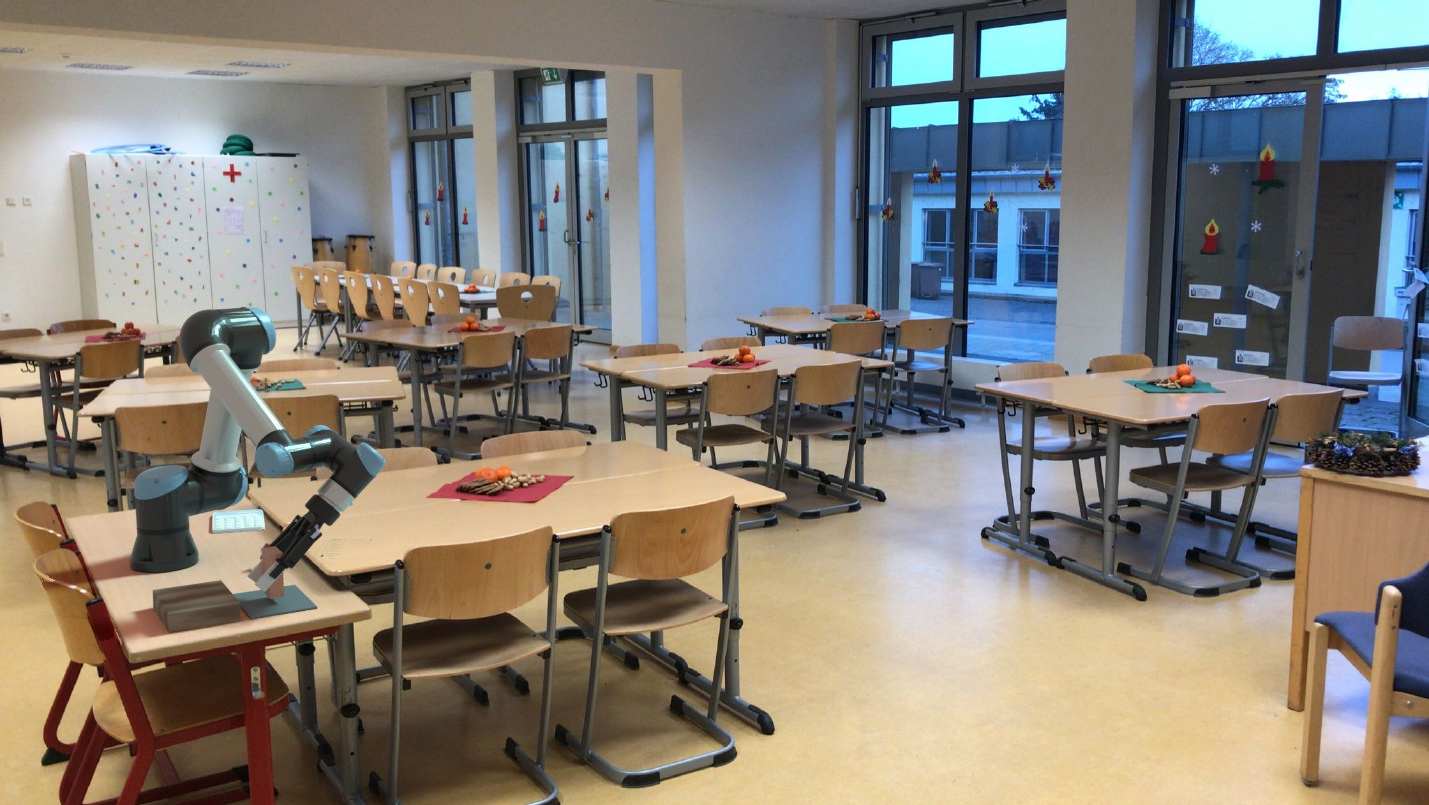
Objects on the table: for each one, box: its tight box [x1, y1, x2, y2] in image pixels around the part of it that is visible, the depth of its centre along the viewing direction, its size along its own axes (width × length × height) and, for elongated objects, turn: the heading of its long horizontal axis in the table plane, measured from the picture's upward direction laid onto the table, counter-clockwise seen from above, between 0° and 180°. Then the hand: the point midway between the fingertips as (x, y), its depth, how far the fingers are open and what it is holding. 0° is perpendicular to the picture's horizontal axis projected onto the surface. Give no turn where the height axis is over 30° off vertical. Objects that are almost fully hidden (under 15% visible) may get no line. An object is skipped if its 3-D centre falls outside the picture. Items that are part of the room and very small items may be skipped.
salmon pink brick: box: [260, 546, 285, 599], centre depth 259 cm, size 6×3×10 cm, turn 35°
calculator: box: [211, 508, 266, 534], centre depth 324 cm, size 13×20×2 cm, turn 23°
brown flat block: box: [152, 579, 242, 633], centre depth 250 cm, size 18×14×4 cm
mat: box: [232, 584, 318, 620], centre depth 260 cm, size 18×14×1 cm
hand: (256, 584), depth 257 cm, fingers closed on salmon pink brick, 6 cm apart
